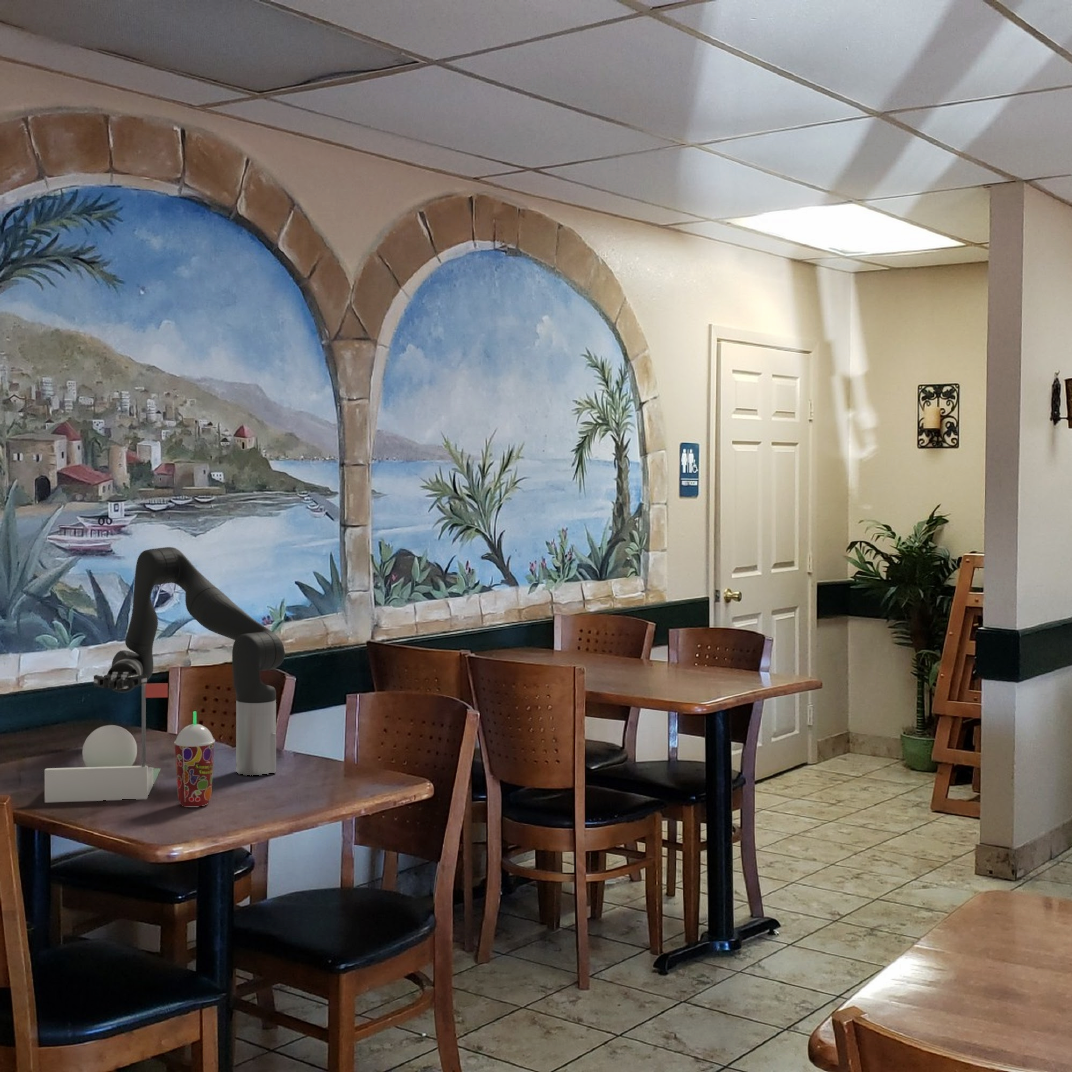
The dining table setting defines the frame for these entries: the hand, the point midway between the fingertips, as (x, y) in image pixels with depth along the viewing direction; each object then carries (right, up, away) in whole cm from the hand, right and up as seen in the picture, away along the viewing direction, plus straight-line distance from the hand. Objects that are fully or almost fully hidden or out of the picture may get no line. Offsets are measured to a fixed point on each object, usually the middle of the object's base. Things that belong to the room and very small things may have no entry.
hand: (115, 685), depth 307 cm
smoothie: (+28, -22, -33) cm, 48 cm away
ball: (+2, -14, -9) cm, 17 cm away
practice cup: (+5, -21, -15) cm, 26 cm away
